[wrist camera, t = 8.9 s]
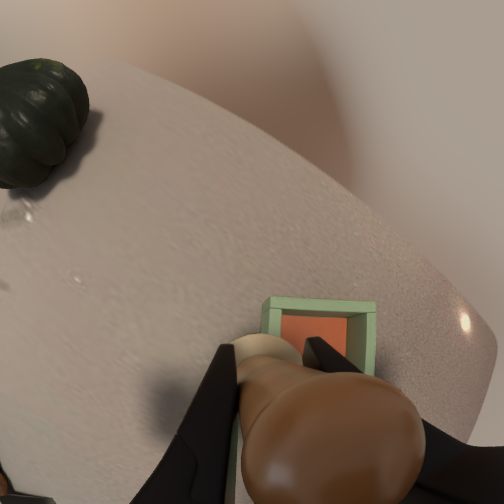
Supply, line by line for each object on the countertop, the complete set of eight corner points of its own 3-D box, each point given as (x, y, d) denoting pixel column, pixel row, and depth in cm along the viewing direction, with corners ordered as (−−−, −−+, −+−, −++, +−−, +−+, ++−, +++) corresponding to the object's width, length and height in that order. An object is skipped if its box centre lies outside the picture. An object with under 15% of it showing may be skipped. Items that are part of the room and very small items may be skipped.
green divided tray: (337, 467, 17) (357, 486, 13) (248, 473, 16) (253, 496, 12) (352, 309, 21) (376, 301, 18) (262, 303, 21) (270, 295, 17)
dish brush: (300, 358, 15) (526, 374, 2) (262, 415, 13) (375, 595, 1) (241, 321, 15) (318, 207, 2) (201, 379, 14) (90, 528, 1)
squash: (122, 100, 20) (44, 8, 10) (10, 226, 16) (-73, 124, 6) (97, 127, 30) (40, 61, 20) (26, 211, 26) (-35, 142, 16)
